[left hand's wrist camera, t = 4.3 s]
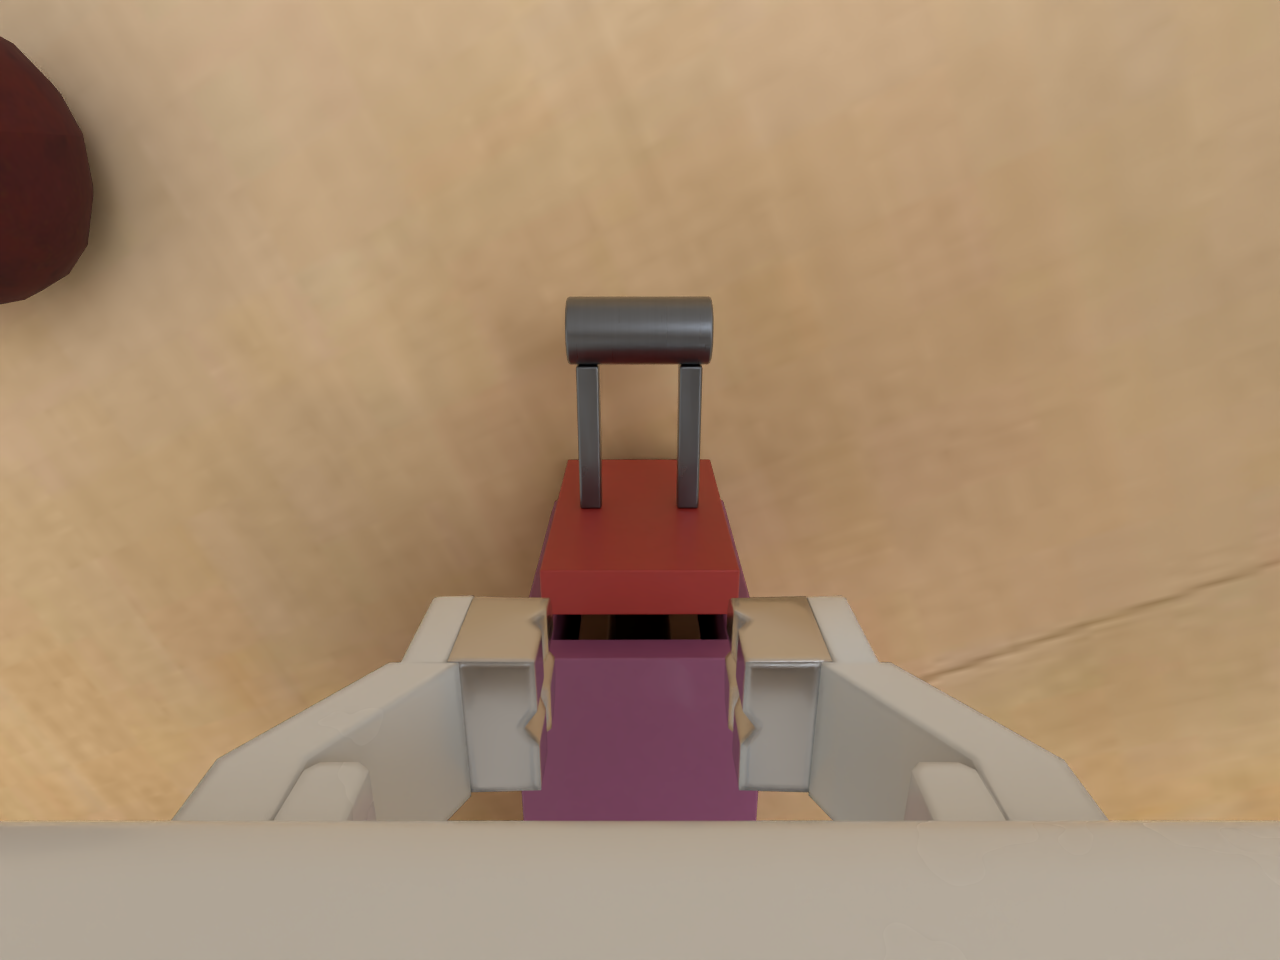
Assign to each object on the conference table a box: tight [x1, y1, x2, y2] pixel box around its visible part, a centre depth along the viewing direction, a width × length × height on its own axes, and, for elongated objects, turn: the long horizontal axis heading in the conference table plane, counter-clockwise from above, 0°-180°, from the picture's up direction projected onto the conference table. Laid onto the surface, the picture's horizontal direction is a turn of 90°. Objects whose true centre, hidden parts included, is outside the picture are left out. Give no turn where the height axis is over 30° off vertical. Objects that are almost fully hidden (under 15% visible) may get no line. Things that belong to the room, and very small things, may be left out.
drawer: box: [540, 297, 740, 640], centre depth 24 cm, size 25×5×8 cm, turn 0°
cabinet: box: [522, 500, 758, 821], centre depth 26 cm, size 21×6×10 cm, turn 0°
